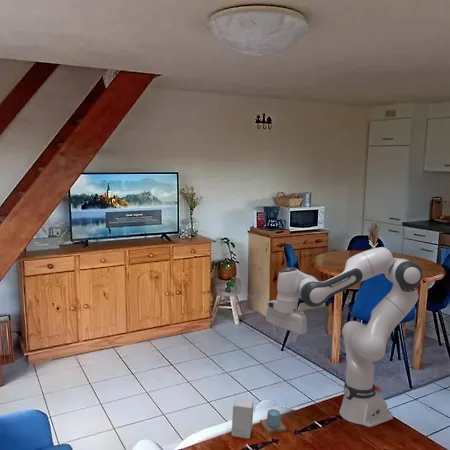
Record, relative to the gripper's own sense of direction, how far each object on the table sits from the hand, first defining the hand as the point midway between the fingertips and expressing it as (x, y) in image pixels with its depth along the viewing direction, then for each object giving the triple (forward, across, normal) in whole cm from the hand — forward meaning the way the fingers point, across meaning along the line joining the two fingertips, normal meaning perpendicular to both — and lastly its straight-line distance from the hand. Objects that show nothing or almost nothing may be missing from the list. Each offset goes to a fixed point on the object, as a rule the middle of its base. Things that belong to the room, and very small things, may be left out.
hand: (285, 338), depth 189 cm
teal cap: (+32, -6, +11) cm, 34 cm away
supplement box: (+33, -2, +24) cm, 41 cm away
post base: (+33, -6, +11) cm, 35 cm away
